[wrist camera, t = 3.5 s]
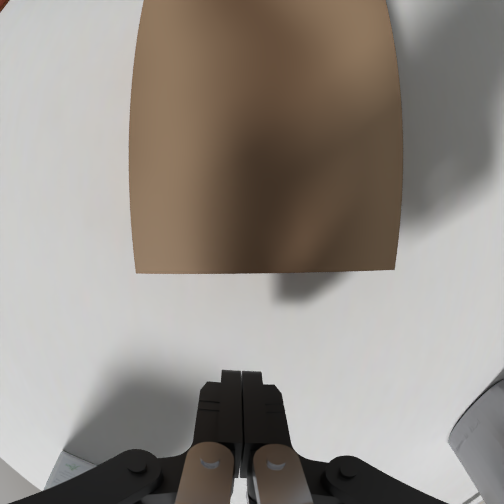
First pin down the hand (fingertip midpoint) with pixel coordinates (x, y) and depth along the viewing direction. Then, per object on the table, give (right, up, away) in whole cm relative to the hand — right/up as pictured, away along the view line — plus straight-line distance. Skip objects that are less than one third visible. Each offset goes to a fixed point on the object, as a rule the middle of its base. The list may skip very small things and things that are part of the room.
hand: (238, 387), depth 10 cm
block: (+1, +11, +1) cm, 11 cm away
